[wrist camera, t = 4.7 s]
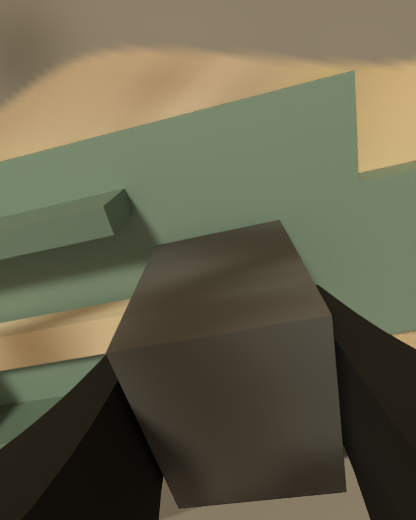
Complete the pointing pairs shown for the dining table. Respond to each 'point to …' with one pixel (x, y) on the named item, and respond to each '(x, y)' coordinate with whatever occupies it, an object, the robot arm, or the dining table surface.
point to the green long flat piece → (200, 216)
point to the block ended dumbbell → (215, 366)
